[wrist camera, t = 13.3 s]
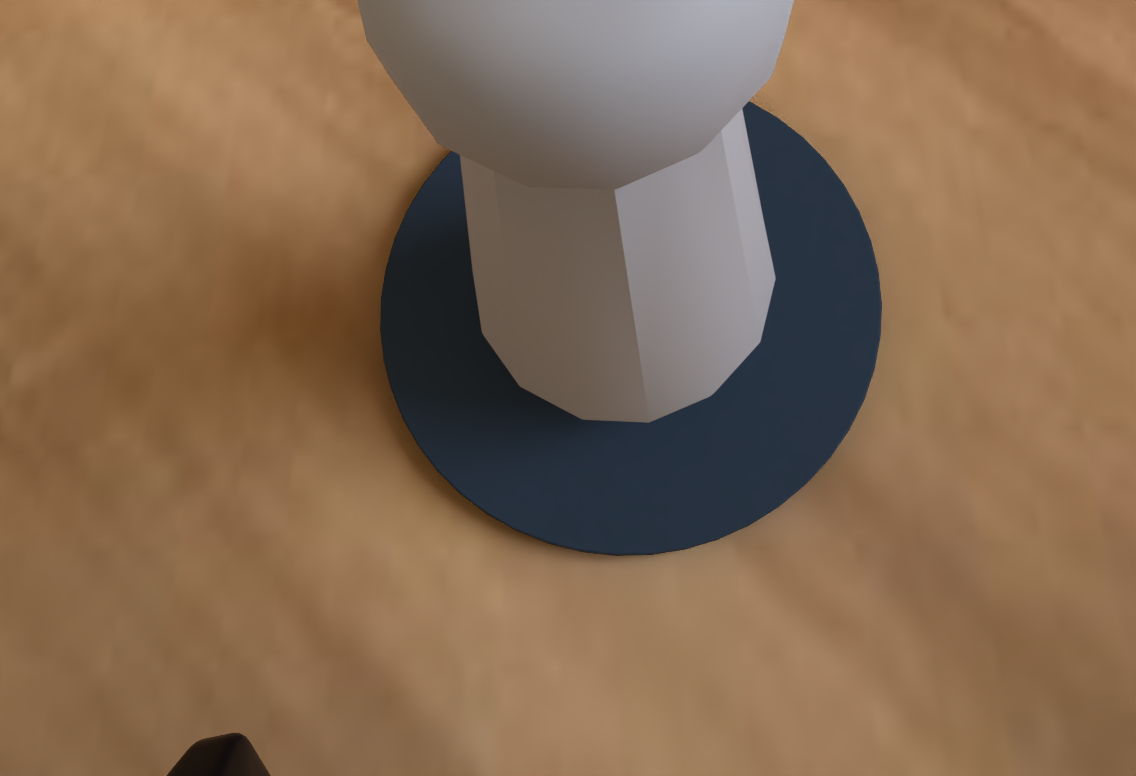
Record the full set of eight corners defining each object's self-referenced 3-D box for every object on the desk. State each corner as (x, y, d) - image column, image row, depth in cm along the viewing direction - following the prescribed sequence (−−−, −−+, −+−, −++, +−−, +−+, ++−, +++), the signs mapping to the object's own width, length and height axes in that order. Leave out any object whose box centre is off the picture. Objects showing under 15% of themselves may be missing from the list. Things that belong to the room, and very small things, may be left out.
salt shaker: (616, 140, 21) (547, -523, 9) (816, 295, 20) (1077, -217, 7) (442, 328, 21) (95, -89, 8) (636, 499, 19) (587, 323, 7)
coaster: (711, 659, 19) (713, 661, 19) (293, 388, 21) (284, 383, 21) (968, 223, 21) (975, 215, 20) (552, 11, 23) (549, -1, 22)
